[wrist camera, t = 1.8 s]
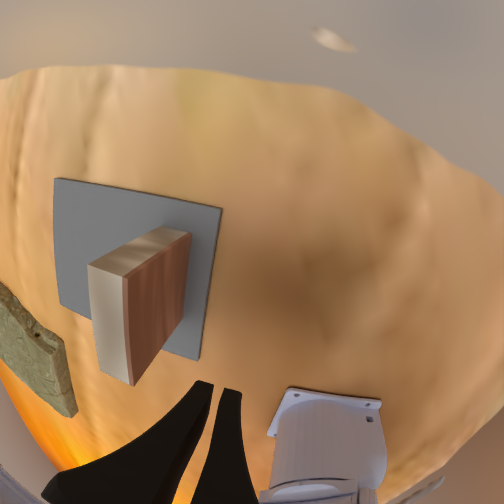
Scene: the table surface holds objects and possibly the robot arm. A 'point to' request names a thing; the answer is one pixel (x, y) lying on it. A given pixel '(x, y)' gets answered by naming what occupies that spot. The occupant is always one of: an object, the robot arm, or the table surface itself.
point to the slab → (138, 300)
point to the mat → (123, 231)
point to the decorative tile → (35, 355)
